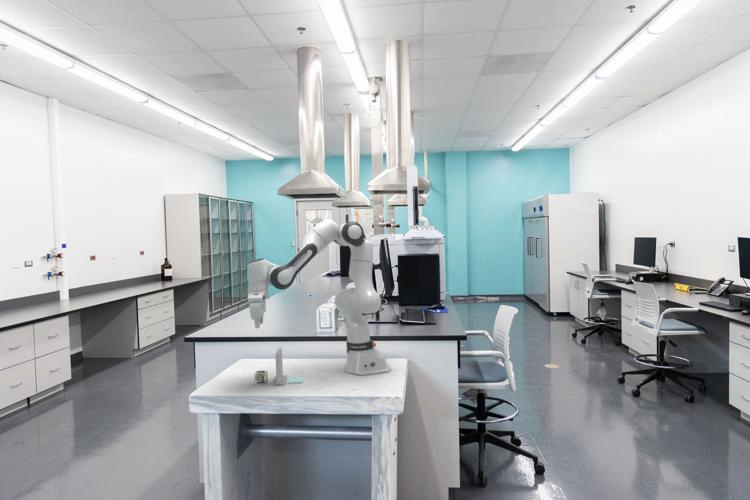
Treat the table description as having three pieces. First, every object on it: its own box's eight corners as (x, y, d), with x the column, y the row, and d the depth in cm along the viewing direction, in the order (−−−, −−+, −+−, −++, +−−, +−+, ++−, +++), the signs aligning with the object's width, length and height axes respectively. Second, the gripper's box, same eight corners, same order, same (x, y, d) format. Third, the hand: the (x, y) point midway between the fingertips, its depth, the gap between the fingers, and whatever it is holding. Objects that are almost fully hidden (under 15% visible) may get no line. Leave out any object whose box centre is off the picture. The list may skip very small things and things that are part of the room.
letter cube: (268, 381, 207) (267, 370, 207) (266, 384, 202) (265, 373, 202) (256, 381, 207) (256, 370, 206) (254, 385, 202) (254, 374, 201)
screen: (286, 376, 212) (285, 347, 212) (284, 385, 200) (282, 354, 200) (275, 377, 212) (274, 347, 211) (272, 385, 200) (271, 354, 199)
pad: (303, 378, 210) (303, 376, 210) (302, 383, 203) (302, 381, 203) (288, 378, 209) (288, 377, 209) (286, 384, 202) (286, 382, 202)
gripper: (254, 292, 213) (255, 321, 213) (246, 298, 192) (248, 330, 193) (268, 291, 213) (269, 320, 214) (262, 298, 193) (263, 330, 194)
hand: (259, 325), depth 203 cm, fingers open, 8 cm apart
